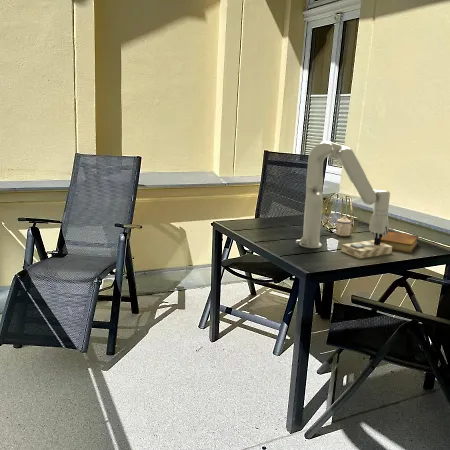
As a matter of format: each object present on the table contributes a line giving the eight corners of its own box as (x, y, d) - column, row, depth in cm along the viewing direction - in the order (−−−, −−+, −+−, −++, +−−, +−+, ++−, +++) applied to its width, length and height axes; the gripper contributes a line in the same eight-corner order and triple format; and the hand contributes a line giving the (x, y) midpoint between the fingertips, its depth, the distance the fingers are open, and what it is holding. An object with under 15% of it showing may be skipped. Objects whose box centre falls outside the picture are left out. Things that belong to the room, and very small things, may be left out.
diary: (385, 239, 277) (386, 231, 275) (417, 245, 267) (418, 235, 266) (376, 248, 258) (377, 238, 256) (410, 253, 248) (412, 243, 247)
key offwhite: (366, 249, 243) (367, 245, 242) (360, 247, 247) (360, 242, 247) (373, 248, 245) (374, 244, 245) (366, 246, 250) (367, 242, 249)
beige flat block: (359, 258, 235) (360, 251, 234) (341, 251, 247) (342, 244, 246) (391, 253, 246) (392, 246, 245) (372, 246, 258) (373, 240, 257)
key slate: (356, 251, 240) (357, 246, 239) (350, 248, 244) (350, 244, 243) (363, 250, 242) (364, 245, 241) (356, 247, 246) (357, 243, 245)
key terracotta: (376, 250, 247) (377, 246, 246) (369, 247, 251) (370, 243, 250) (383, 249, 249) (383, 245, 248) (376, 246, 253) (376, 242, 253)
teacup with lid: (337, 231, 291) (339, 214, 288) (351, 234, 286) (353, 216, 283) (332, 235, 280) (333, 217, 278) (346, 237, 276) (348, 219, 273)
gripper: (365, 210, 250) (362, 241, 254) (386, 215, 237) (382, 248, 241) (375, 209, 253) (372, 240, 258) (396, 214, 240) (392, 247, 245)
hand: (377, 244), depth 249 cm, fingers closed
